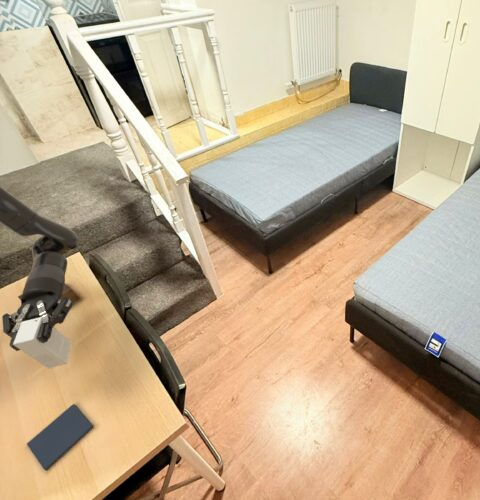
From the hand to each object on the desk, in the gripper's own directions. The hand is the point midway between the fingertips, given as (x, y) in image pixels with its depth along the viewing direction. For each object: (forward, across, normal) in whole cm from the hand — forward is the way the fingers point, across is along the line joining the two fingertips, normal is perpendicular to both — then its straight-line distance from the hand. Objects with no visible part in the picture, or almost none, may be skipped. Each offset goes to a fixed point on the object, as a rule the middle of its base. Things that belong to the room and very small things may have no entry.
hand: (29, 344), depth 72 cm
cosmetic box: (-3, 0, +10) cm, 11 cm away
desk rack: (-35, -13, +22) cm, 43 cm away
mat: (+11, -4, +22) cm, 25 cm away
